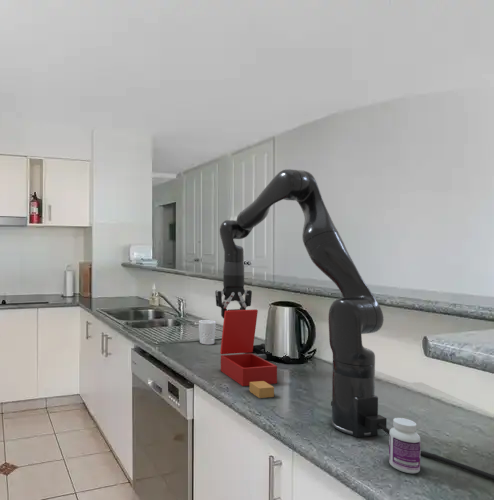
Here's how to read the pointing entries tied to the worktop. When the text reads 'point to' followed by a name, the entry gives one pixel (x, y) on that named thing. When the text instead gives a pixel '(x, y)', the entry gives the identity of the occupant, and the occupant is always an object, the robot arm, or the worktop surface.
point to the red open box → (248, 369)
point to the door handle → (267, 353)
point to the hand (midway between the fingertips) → (233, 317)
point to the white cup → (207, 331)
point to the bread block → (261, 389)
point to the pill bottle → (404, 446)
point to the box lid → (238, 331)
